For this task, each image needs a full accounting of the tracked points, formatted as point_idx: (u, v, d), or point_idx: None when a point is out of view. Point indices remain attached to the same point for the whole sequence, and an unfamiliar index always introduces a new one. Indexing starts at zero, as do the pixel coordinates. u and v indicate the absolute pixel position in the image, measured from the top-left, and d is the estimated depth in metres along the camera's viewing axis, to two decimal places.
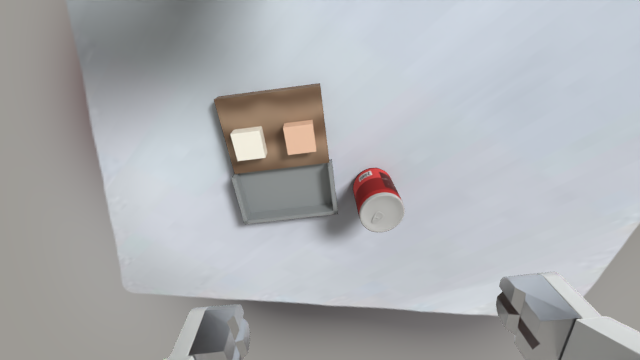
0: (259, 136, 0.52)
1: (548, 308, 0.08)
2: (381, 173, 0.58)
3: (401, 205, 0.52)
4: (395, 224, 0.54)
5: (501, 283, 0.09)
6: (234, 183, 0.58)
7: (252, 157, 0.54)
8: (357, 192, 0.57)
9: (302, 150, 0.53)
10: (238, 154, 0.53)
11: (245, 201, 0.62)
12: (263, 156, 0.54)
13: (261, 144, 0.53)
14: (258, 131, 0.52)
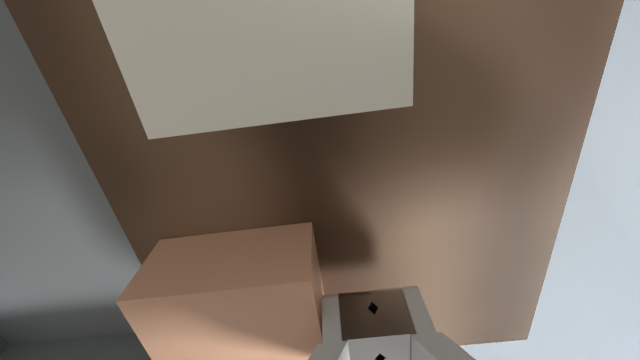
0: (356, 101, 0.06)
1: (391, 323, 0.08)
2: None
3: None
4: None
5: None
6: None
7: (114, 1, 0.05)
8: None
9: None
10: None
11: None
12: (157, 122, 0.06)
13: (276, 112, 0.06)
14: (404, 94, 0.06)
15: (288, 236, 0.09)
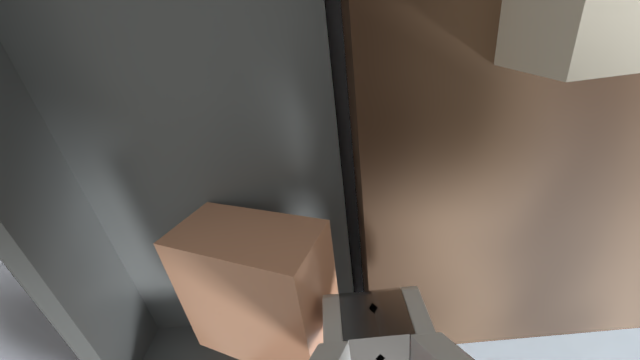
0: None
1: (391, 323, 0.08)
2: None
3: None
4: None
5: None
6: None
7: None
8: None
9: (191, 305, 0.11)
10: None
11: None
12: (586, 62, 0.05)
13: None
14: None
15: (301, 228, 0.09)
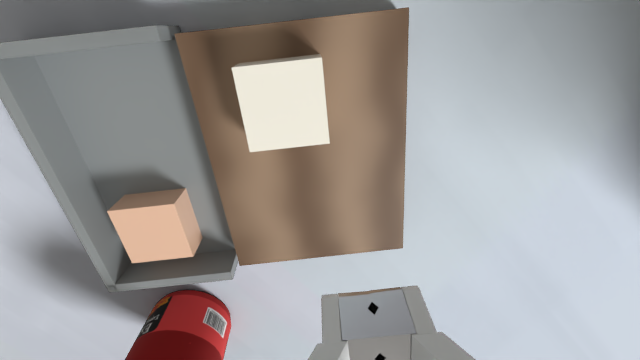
0: (313, 142, 0.19)
1: (391, 323, 0.08)
2: None
3: None
4: None
5: None
6: (139, 33, 0.17)
7: (247, 116, 0.18)
8: (181, 338, 0.26)
9: (127, 239, 0.24)
10: (255, 73, 0.17)
11: None
12: (253, 147, 0.19)
13: (289, 144, 0.19)
14: (327, 140, 0.19)
15: (174, 192, 0.24)
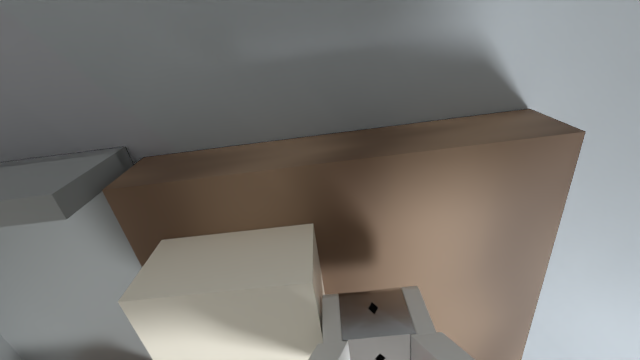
0: None
1: (391, 323, 0.08)
2: None
3: None
4: None
5: None
6: (22, 209, 0.08)
7: None
8: None
9: None
10: (170, 309, 0.08)
11: None
12: None
13: None
14: None
15: None
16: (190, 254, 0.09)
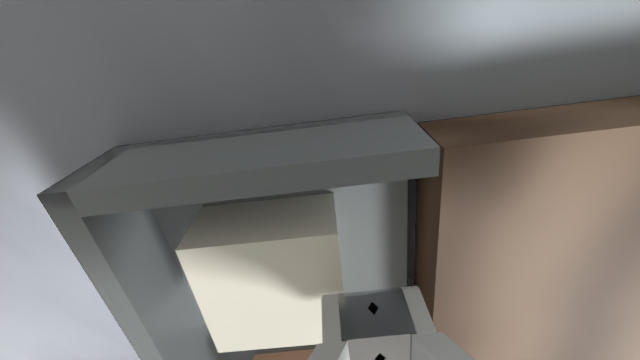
0: (321, 340, 0.11)
1: (391, 323, 0.08)
2: None
3: None
4: None
5: None
6: (399, 164, 0.08)
7: (210, 311, 0.11)
8: None
9: None
10: (218, 258, 0.10)
11: None
12: (223, 347, 0.12)
13: (282, 343, 0.11)
14: None
15: None
16: (230, 216, 0.11)
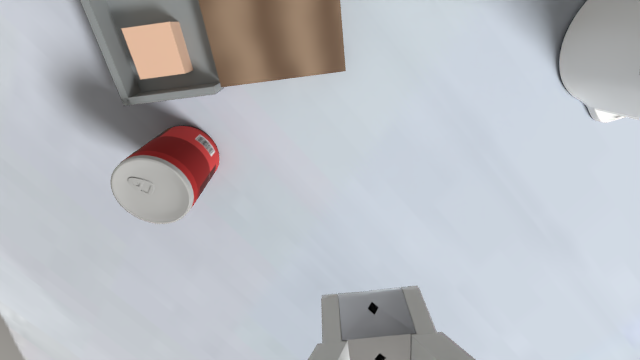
0: None
1: (391, 323, 0.08)
2: (214, 169, 0.38)
3: (175, 218, 0.32)
4: (136, 214, 0.32)
5: None
6: None
7: None
8: (177, 140, 0.34)
9: (136, 55, 0.32)
10: None
11: None
12: None
13: None
14: None
15: None
16: None
